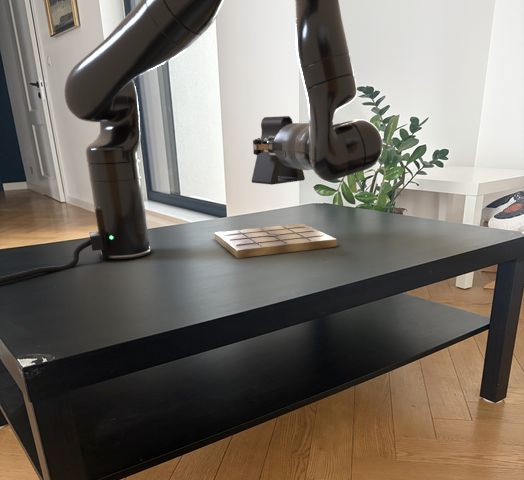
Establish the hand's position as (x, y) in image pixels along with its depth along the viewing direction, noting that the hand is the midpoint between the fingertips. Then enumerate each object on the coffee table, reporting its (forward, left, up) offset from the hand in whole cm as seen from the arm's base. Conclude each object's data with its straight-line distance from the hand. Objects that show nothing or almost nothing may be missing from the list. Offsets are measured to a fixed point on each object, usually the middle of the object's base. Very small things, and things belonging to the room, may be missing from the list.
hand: (270, 143), depth 110 cm
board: (-2, -5, -19) cm, 20 cm away
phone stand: (0, -3, -7) cm, 8 cm away
